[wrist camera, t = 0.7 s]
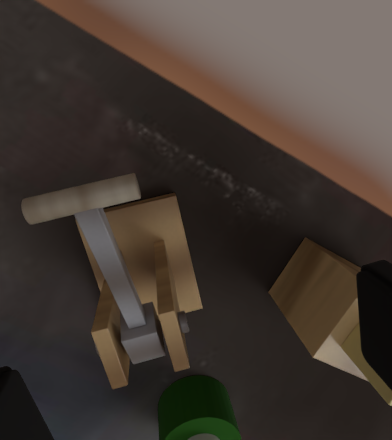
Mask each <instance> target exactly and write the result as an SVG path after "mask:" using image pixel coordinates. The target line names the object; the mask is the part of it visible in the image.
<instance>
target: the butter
mask: <svg viewBox="0 0 392 440" xmlns="http://www.w3.org/2000/svg"><path fill="white" fill-rule="evenodd" d="M341 348H342V349H343V351H344V352H345V353H346V354H347V355H348V357H349V358H350V359H351V360H352V361H353V363H354V364H355V365H356V366H357V367H358V369H359V370H360V371H361V372H362V373H363V375H364V376H365V377H366V378H367V379H368V381H369V382H370V383H371V384H372V386H373V387H374V388H375V389H376V390H377V392H378V393H379V394H380V395H381V396H382V398H383V399H384V400H385V401H386V402H387V404H388V405H391V406H392V390H391V389H390V388H389V387H388V386H387V385H386V384H385V382H384V381H383V380H382V379H381V378H380V377H379V376H378V375H377V373H376V372H375V371H374V370H373V369H372V368H371V367H370V365H369V364H368V363H367V362H366V360H365V358H364V356H363V354H362V351H361V341H360V326H359V323H358V324H357V325H356V327H355V328H354V329H353V331H352V332H351V333H350V335H349V336H348V337H347V339H346V340H345V341H344V343H343V344H342V345H341Z"/></svg>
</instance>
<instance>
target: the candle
mask: <svg viewBox="0 0 392 440" xmlns="http://www.w3.org/2000/svg"><path fill="white" fill-rule="evenodd" d="M158 422H159V440H241V436H240V433H239V429H238V426H237V422H236V419H235V416H234V412H233V409H232V405H231V402H230V399H229V395H228V392H227V390H226V388H225V387H224V385H223V384H222V383H220V382H219V381H218V380H216V379H214V378H212V377H208V376H202V375H196V376H189V377H185V378H182V379H180V380H178V381H176V382H174V383H172V384H171V385H170V386H169V387H168V388H167V389H166V390H165V391H164V392H163V394H162V395H161V397H160V400H159V403H158Z"/></svg>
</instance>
